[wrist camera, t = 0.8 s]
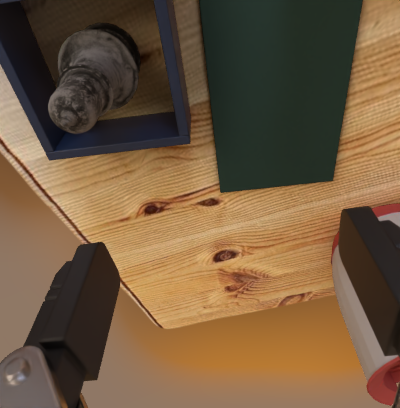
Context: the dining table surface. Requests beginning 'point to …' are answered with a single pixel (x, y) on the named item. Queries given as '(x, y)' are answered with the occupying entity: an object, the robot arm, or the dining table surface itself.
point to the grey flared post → (93, 76)
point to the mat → (278, 87)
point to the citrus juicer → (367, 324)
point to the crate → (102, 130)
